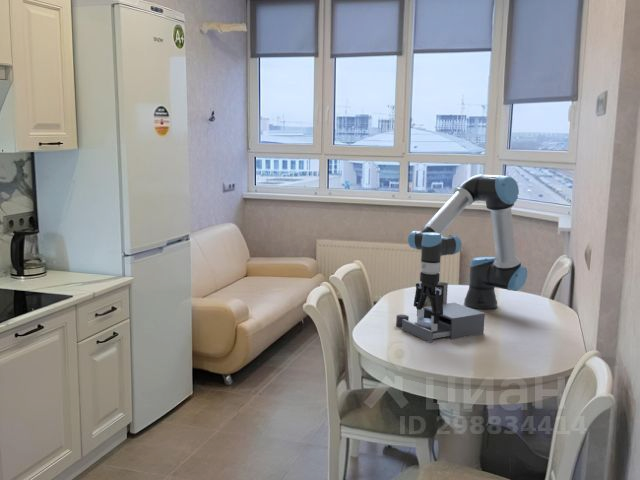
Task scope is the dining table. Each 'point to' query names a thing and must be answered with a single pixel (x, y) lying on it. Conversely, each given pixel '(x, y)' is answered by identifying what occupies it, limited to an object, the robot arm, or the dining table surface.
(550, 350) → the dining table surface
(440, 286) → the coffee box
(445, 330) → the tray
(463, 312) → the gray drawer box
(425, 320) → the light blue dome
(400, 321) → the short dark gray cylinder
